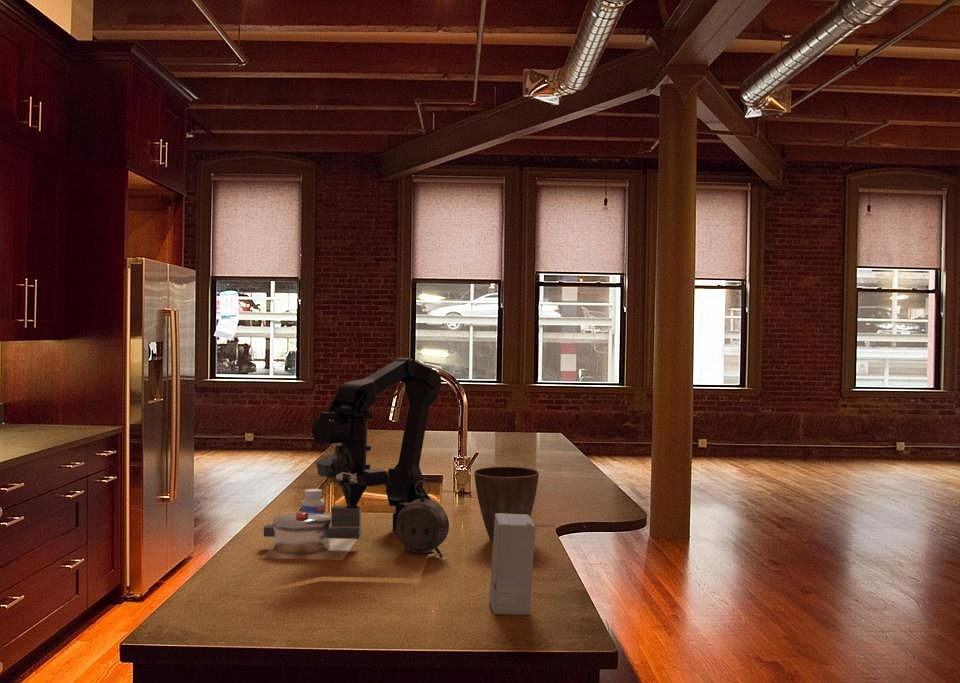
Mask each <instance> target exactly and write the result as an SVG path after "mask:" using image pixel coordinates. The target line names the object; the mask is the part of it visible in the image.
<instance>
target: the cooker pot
mask: <svg viewBox="0 0 960 683" xmlns="http://www.w3.org/2000/svg"><path fill="white" fill-rule="evenodd" d="M361 528H362V527H361V526H360V527H337V526H331V524H330V525H329V526H326V527H323V528H317V529H309V530H288V529H281V528H277V527H274V526H273V524H266V525H265V526H263V537H265V538H267V537H268V538H271V537H272V538H273V540H272V543H273V546H272V547H273V550H274V551H275V552H278V553H281V554H288V555H308V554H316V553H321V552H324V551H327V550H328V549H330V539H357V540H358V539H359V538H360V537H361V532H362V531H361Z"/></svg>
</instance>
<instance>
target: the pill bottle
mask: <svg viewBox="0 0 960 683" xmlns="http://www.w3.org/2000/svg"><path fill="white" fill-rule="evenodd" d="M322 496H323V490H322V489H320V488H309V489H305V490H304V497H305V498H304V499H302V501H301V510H300V512H307V513H316V514H324V515H325V500H324V499H323V498H322Z"/></svg>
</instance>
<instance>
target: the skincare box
mask: <svg viewBox="0 0 960 683" xmlns="http://www.w3.org/2000/svg"><path fill="white" fill-rule="evenodd" d="M533 521H534V519H533V518H531V516H529V515H525V514H507V513H496V514H495V523H494V537H493V542H492V551H491V553H492V554H491V567H490V583H489V584H490V585H489V595H488V597H489V598H488V599H489V604H490V607H491V611H492V613H493V615H517V616H519V615H520V616H522V615H523V616H525V615H530V614H531V601H532V600H531V599H532V598H531V597H532V584H533V583H532V582H533V568H534V554H535V542H536V540H535V538H536V525H535V524H534V522H533Z"/></svg>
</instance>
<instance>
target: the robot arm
mask: <svg viewBox="0 0 960 683" xmlns="http://www.w3.org/2000/svg"><path fill="white" fill-rule="evenodd" d="M398 383H401V384H403V385H404V394H405V396H406V399H407V401H408V407H407V414H406V419H405V424H404V430H403V434H402V440H401V441H402V442H401V445H400V452H399V457H398V462H397V464H396V465H395V466H394V467H393V468H391V467H389V469H388V471H387V470H382V469H379V468H371V464H368V463H367V452H370V451H371V449H372V446H371V445H368V426H369V425H368V421H370V420H371V421H372V420H375V416H374V415H373V414H372V413H371V412H370V411H369V409H370V408H371V407H372V406H373V405H374V404H376V402H377V401H378V398H379V395H381V394H382V393H384V392H385V391H387V390H388V389H389V388H391V387H393V386H395V385H396V384H398ZM441 385H442V376H441V375H440V374H439V372H438V370H437V369H433V368H430V367H429V366H426V365H424V364H421V363H419V362H418V361H416V360H415V359H413V358H411V357H397V358H395V359H393V361H392V362H391V363H388V364H387V365H385V366H384V367H381V368H380V369H379V370H377V371H375V372H373V373H372V374H370V375H368V376H366V377H365V378H362V379H355V380H351V381H347V382H344V383H342V384H340V385H339V387H338V388H337V392H336V394H335V396H334V397H333V399H332V402H331V404H330V405H329V407H328V409H327V411H323V412H321V411H320V413H319V418H318V419H316V420H315V422H314V423H313V427H312V428H311V433H312V437H313V439H314V441H315V442H316V443H317V444H318V445H320V446H326V445H333V444H336V446H335V447H334V448H335V449H334V452H333V453H331V454H329V455H327V456H324V457H322V458H321V459H319V460H317V461H315V465H316V469H317V475H318V476H319V477H320V478H321V477H325V478H326V479H329V480H331V479H332V480H333V482H334V483H336V484H337V485H338V486H340V488H341V490H342V493H343V496H344V500H345V502H346V504H345V505H346V506H358V504H359V502H360V500H361V498H362V496H363V494H364V492H365V491H366V490H367V487H375V486H383V485H384V486H385V494H386V497H387V501H388V506H389V507H395V511H394V512H393V513H392V532H394V531H395V532H396V519H397V516H398V514H399V513H400V511H401V510H402V509H403V508H404V507H405V506H407V505H408V504H409V503H411V502H412V501H414V500H417V499H420V498H421V496H420V495H418V494H422V493H423V494H427V493H428V492H427V491H426V490H425V488H424V482H420V483H418V484H417V486H416V490H417V492H418V494H417V493H416V491H415V485H416V483H417V482H419V481H424V476H423V473H422V471H421V468H420V461H421V456H422V450H423V447H424V446H423V445H424V439H425V435H426V427H427V423H428V422H427V420H428V417H429V416H428V415H429V411H430V407H431V406H432V404H433V403H434V402H435V401H436V399H438V397H439V392H440V391H441V390H440V389H441ZM424 499H429V500H431V497H430V496H429V493H428V494H427V495H426V496H424Z"/></svg>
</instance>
